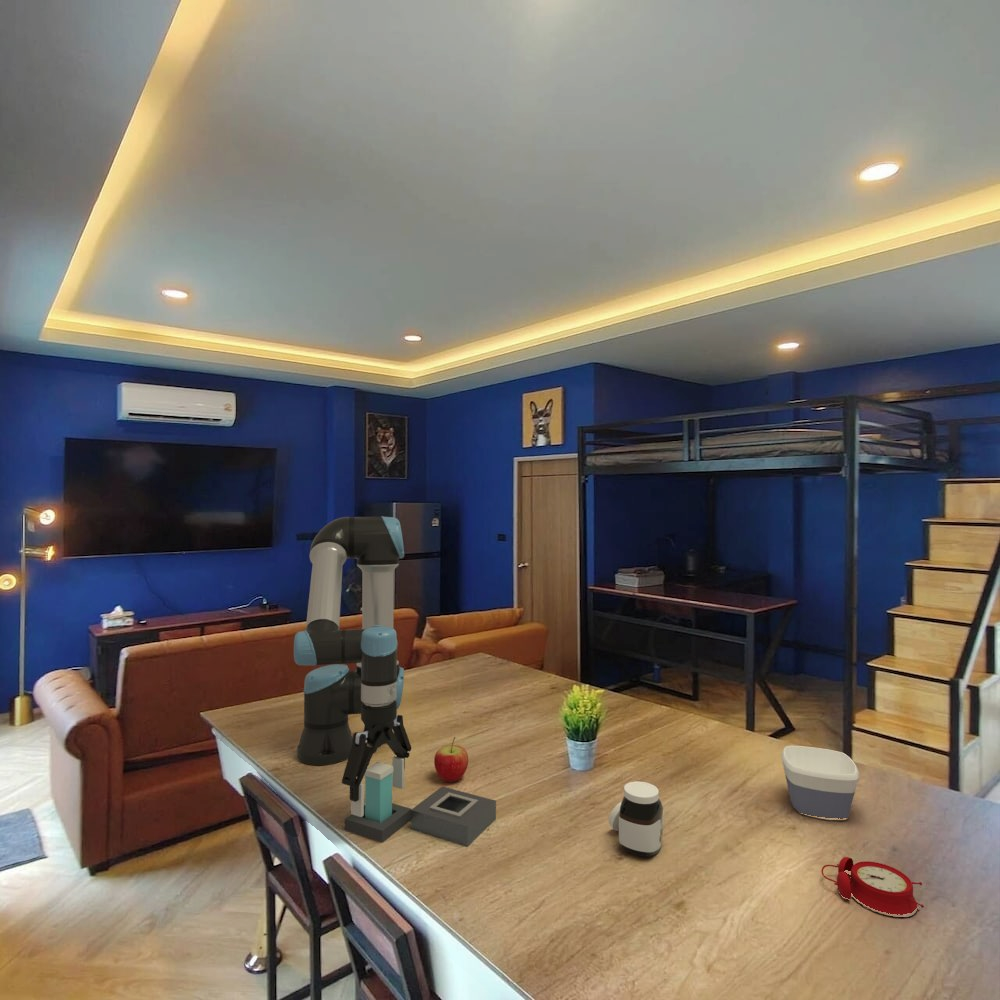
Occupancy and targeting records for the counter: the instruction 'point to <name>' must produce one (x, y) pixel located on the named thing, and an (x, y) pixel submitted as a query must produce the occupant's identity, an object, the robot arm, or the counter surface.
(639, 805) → the spread jar
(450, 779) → the apple
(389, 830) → the dark grey square frame
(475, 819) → the port
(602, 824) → the counter surface
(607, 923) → the counter surface
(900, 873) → the alarm clock
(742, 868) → the counter surface
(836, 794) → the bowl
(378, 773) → the plug
